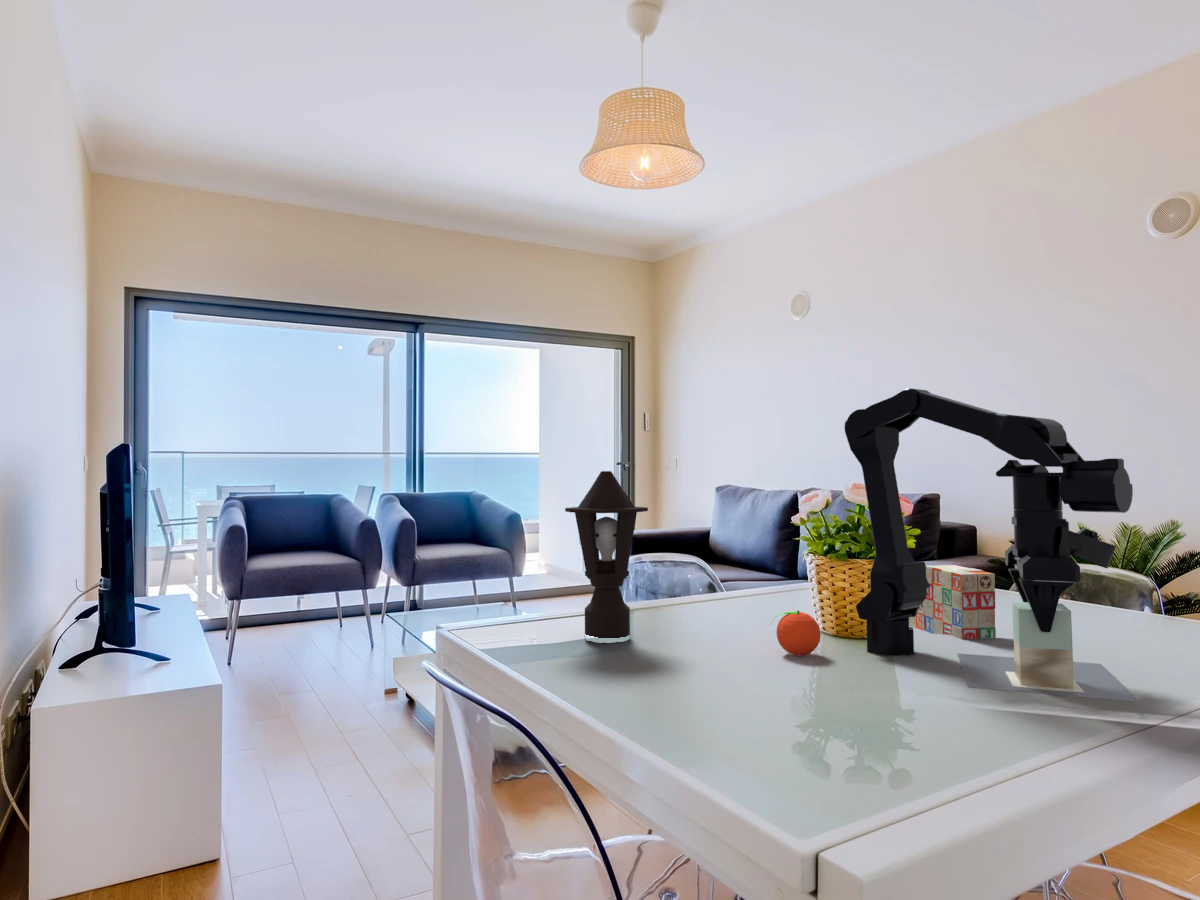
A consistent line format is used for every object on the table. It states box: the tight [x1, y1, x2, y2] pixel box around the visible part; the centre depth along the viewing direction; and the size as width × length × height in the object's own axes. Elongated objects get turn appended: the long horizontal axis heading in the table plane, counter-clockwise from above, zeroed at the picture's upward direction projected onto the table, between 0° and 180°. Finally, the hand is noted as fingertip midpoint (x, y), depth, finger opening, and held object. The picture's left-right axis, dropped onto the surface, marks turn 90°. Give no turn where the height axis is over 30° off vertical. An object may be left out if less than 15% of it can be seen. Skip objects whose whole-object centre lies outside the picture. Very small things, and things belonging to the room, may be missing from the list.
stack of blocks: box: [909, 564, 997, 640], centre depth 138 cm, size 21×6×12 cm, turn 6°
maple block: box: [1013, 638, 1074, 689], centre depth 100 cm, size 6×6×5 cm
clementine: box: [769, 610, 822, 657], centre depth 121 cm, size 8×7×7 cm
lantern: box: [564, 470, 649, 638], centre depth 135 cm, size 15×15×30 cm
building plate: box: [957, 653, 1142, 703], centre depth 104 cm, size 19×20×1 cm
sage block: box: [1011, 601, 1074, 650], centre depth 101 cm, size 6×6×5 cm
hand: (1041, 627), depth 101 cm, fingers open, 7 cm apart
